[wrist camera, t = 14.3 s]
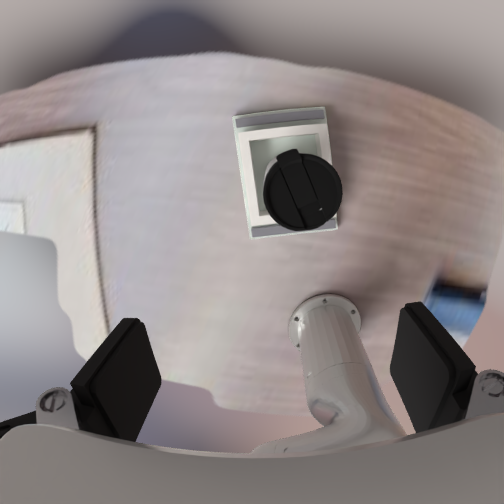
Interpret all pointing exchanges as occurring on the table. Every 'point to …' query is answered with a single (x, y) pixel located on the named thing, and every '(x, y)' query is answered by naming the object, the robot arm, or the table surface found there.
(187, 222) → the table surface
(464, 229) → the table surface
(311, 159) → the travel mug
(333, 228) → the white rectangular tray
